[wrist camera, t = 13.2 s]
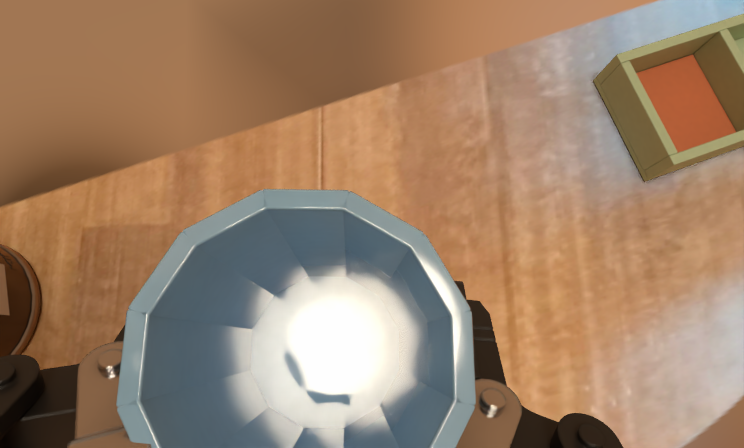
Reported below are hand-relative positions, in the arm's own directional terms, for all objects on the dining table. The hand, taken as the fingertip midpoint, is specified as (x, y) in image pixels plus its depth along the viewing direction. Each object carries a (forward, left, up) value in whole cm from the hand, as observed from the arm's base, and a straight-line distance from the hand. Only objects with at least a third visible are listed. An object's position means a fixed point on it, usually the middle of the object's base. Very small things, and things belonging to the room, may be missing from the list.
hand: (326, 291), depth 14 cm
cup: (-2, -1, -4) cm, 5 cm away
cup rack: (+28, -16, -19) cm, 38 cm away
